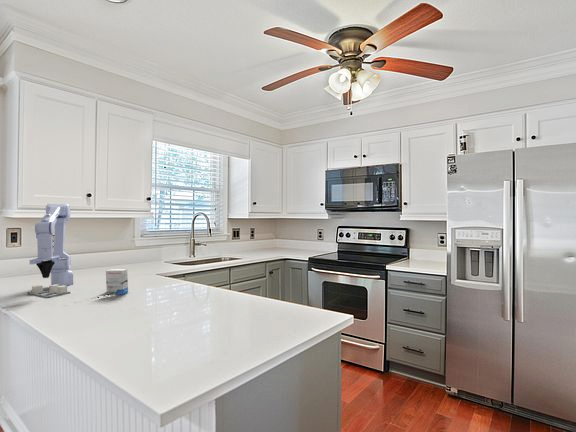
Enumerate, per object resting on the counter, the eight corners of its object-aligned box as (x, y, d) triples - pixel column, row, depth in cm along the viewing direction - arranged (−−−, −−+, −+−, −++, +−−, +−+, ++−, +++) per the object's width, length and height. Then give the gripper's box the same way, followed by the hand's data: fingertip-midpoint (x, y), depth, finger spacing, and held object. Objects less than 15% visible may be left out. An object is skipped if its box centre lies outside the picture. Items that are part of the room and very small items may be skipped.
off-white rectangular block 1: (39, 292, 167) (39, 284, 166) (42, 292, 165) (42, 285, 165) (32, 293, 164) (32, 286, 164) (35, 294, 162) (35, 286, 162)
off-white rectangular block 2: (63, 292, 165) (63, 285, 165) (67, 293, 164) (67, 286, 163) (56, 294, 162) (56, 286, 162) (60, 294, 161) (60, 287, 161)
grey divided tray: (50, 292, 172) (50, 288, 172) (70, 296, 164) (70, 291, 164) (27, 296, 163) (27, 292, 163) (47, 301, 155) (47, 296, 155)
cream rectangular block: (56, 291, 168) (56, 284, 168) (59, 292, 166) (59, 284, 166) (49, 292, 165) (49, 285, 165) (53, 293, 164) (53, 286, 164)
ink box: (128, 292, 170) (128, 268, 170) (122, 295, 165) (122, 270, 165) (112, 292, 171) (111, 268, 171) (105, 294, 166) (105, 270, 166)
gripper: (50, 246, 166) (51, 274, 167) (23, 249, 152) (23, 280, 152) (63, 246, 165) (64, 274, 166) (37, 250, 151) (37, 281, 151)
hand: (45, 277), depth 159 cm, fingers closed
